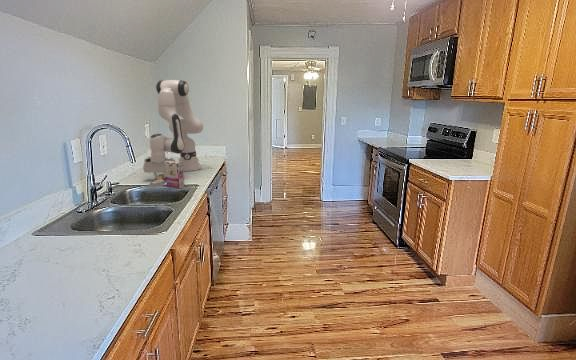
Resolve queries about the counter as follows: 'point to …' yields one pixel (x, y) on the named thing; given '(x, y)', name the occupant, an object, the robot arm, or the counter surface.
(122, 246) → the counter surface
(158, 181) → the wooden handled scraper
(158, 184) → the mat
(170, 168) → the candy bar box
